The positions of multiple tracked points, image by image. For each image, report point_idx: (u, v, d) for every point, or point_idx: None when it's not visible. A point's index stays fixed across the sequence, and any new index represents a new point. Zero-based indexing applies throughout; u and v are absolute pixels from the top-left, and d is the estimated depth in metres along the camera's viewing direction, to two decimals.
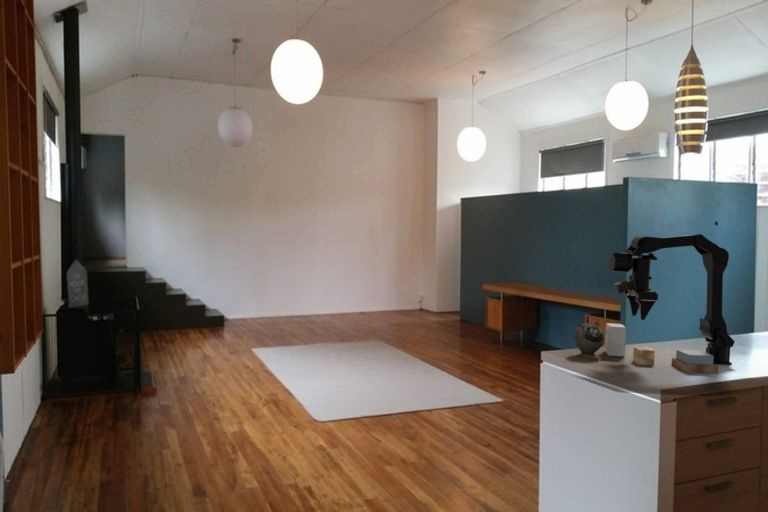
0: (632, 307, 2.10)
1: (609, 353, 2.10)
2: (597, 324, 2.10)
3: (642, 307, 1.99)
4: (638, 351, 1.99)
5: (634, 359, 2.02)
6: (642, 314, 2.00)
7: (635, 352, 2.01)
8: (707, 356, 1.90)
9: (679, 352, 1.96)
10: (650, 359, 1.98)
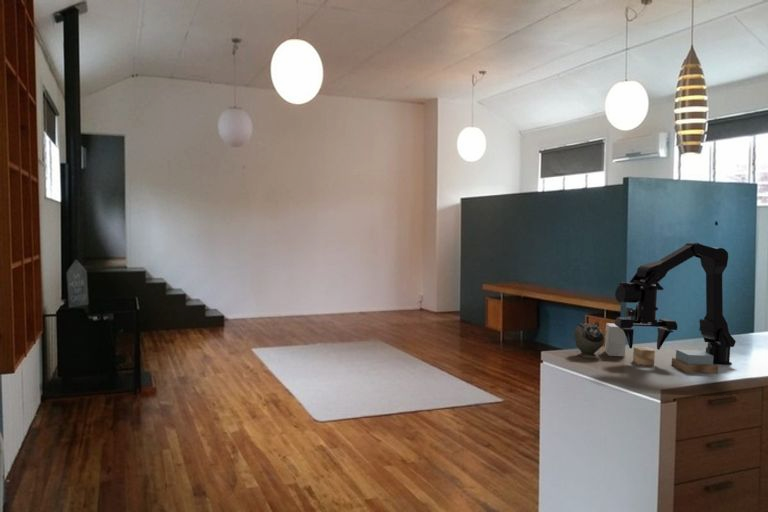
0: (657, 340, 2.01)
1: (609, 353, 2.10)
2: (597, 324, 2.10)
3: None
4: (638, 351, 1.99)
5: (634, 359, 2.02)
6: (628, 342, 2.00)
7: (635, 352, 2.01)
8: (707, 356, 1.90)
9: (679, 352, 1.96)
10: (650, 359, 1.98)
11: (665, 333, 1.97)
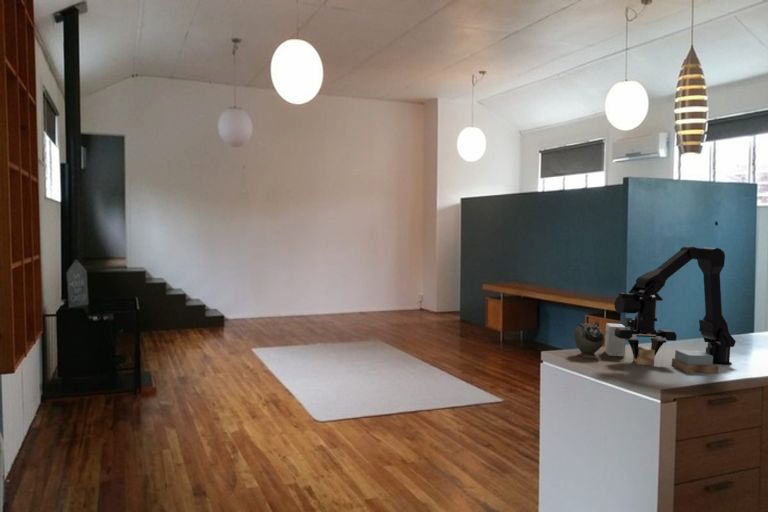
0: None
1: (609, 353, 2.10)
2: (597, 324, 2.10)
3: (630, 345, 2.01)
4: (638, 351, 1.99)
5: (634, 359, 2.02)
6: (633, 353, 2.01)
7: None
8: (707, 356, 1.90)
9: (678, 352, 1.96)
10: (650, 358, 1.98)
11: (658, 344, 1.97)
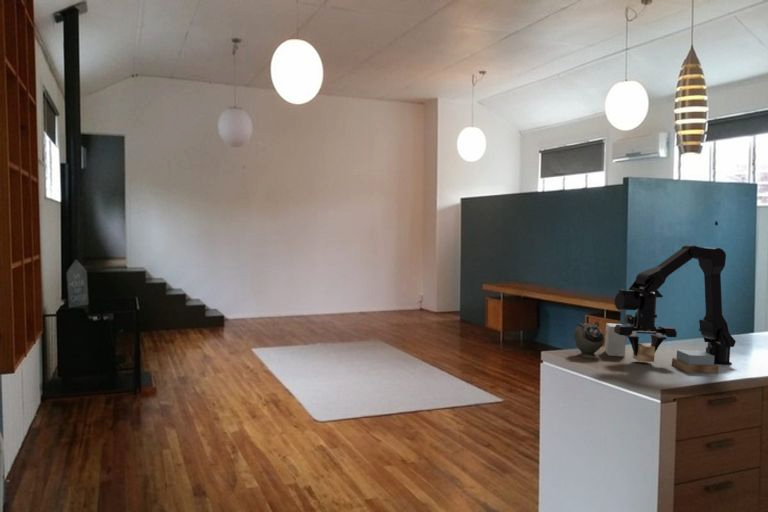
0: None
1: (609, 353, 2.10)
2: (597, 324, 2.10)
3: (631, 342, 2.01)
4: (638, 347, 1.99)
5: (634, 356, 2.02)
6: (634, 350, 2.01)
7: None
8: (708, 356, 1.90)
9: (680, 352, 1.95)
10: (650, 355, 1.98)
11: (658, 341, 1.97)
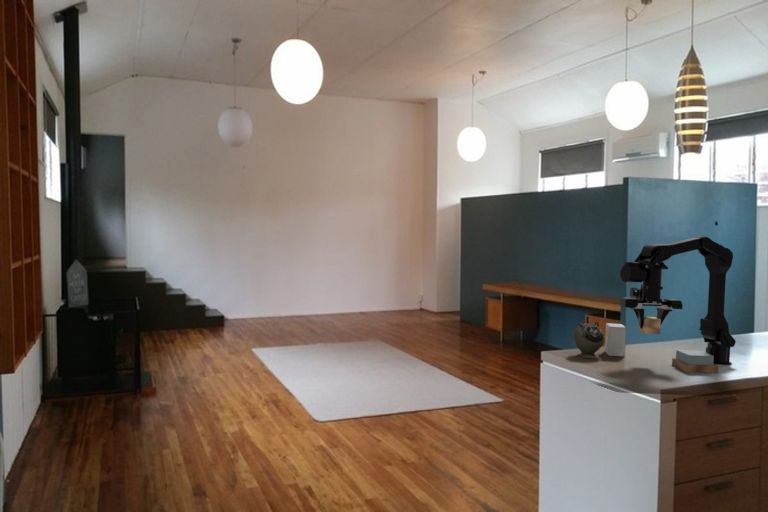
0: None
1: (609, 353, 2.10)
2: (597, 324, 2.10)
3: (636, 315, 2.00)
4: (644, 320, 1.98)
5: (640, 328, 2.01)
6: (639, 322, 2.00)
7: None
8: (707, 356, 1.90)
9: (679, 352, 1.96)
10: (656, 327, 1.97)
11: (664, 313, 1.96)
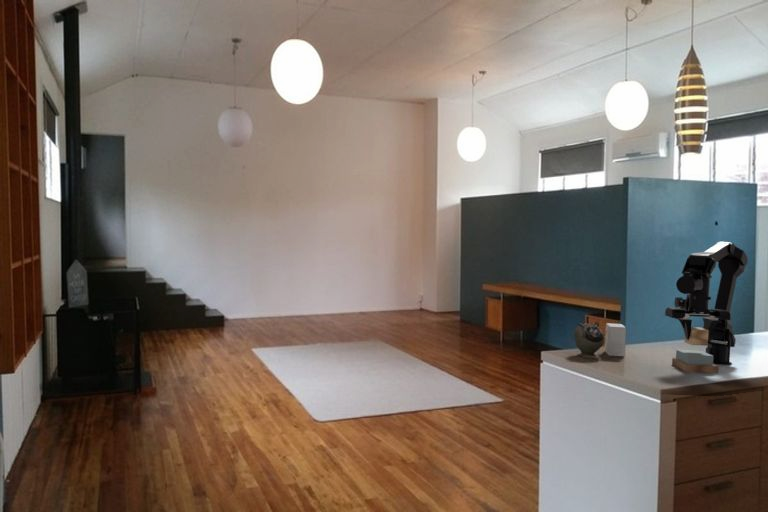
0: None
1: (609, 353, 2.10)
2: (597, 324, 2.10)
3: (682, 325, 1.94)
4: (691, 331, 1.92)
5: (686, 339, 1.95)
6: (686, 333, 1.94)
7: None
8: (707, 356, 1.90)
9: (679, 352, 1.96)
10: (703, 338, 1.91)
11: (712, 324, 1.91)
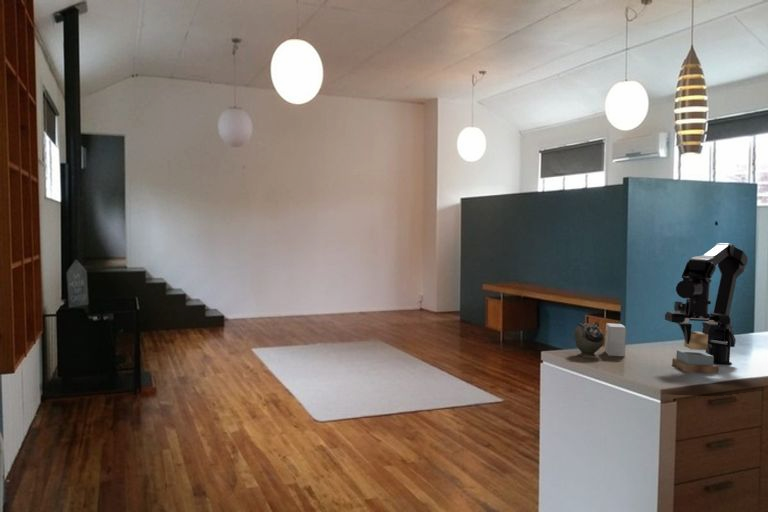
0: None
1: (609, 353, 2.10)
2: (597, 324, 2.10)
3: (682, 330, 1.94)
4: (691, 335, 1.92)
5: (686, 344, 1.95)
6: (685, 337, 1.94)
7: None
8: (707, 356, 1.90)
9: (679, 352, 1.96)
10: (703, 343, 1.91)
11: (711, 328, 1.91)
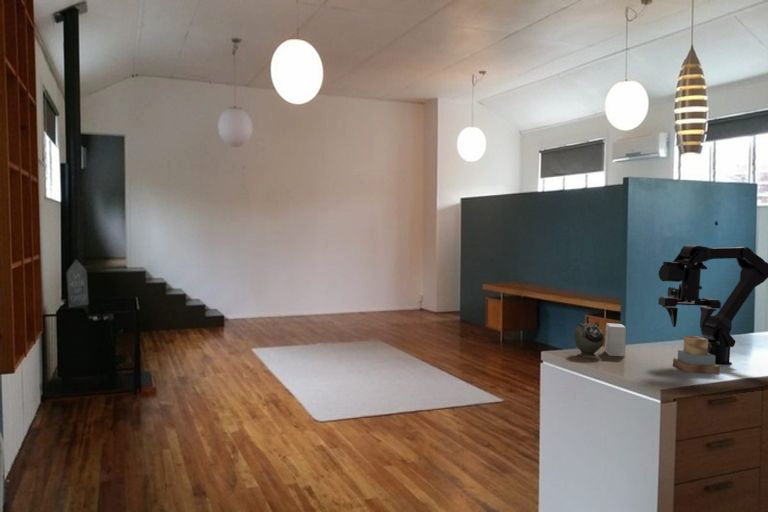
0: (700, 319, 2.04)
1: (609, 353, 2.10)
2: (597, 324, 2.10)
3: (669, 313, 2.04)
4: (691, 340, 1.92)
5: (685, 349, 1.95)
6: (672, 321, 2.04)
7: (687, 341, 1.94)
8: (709, 356, 1.90)
9: (681, 352, 1.96)
10: (703, 348, 1.91)
11: (708, 312, 2.00)
